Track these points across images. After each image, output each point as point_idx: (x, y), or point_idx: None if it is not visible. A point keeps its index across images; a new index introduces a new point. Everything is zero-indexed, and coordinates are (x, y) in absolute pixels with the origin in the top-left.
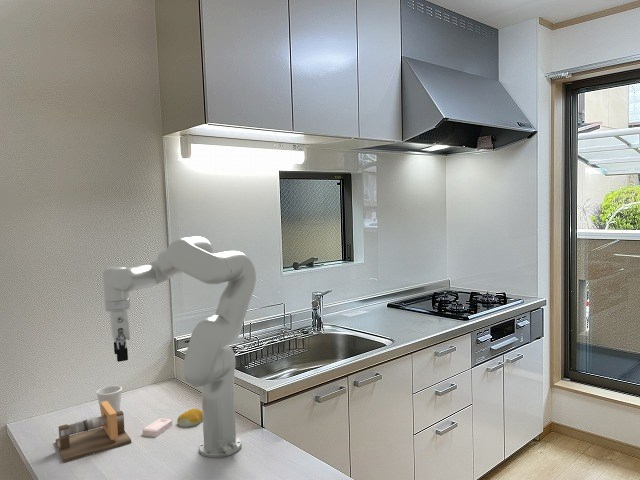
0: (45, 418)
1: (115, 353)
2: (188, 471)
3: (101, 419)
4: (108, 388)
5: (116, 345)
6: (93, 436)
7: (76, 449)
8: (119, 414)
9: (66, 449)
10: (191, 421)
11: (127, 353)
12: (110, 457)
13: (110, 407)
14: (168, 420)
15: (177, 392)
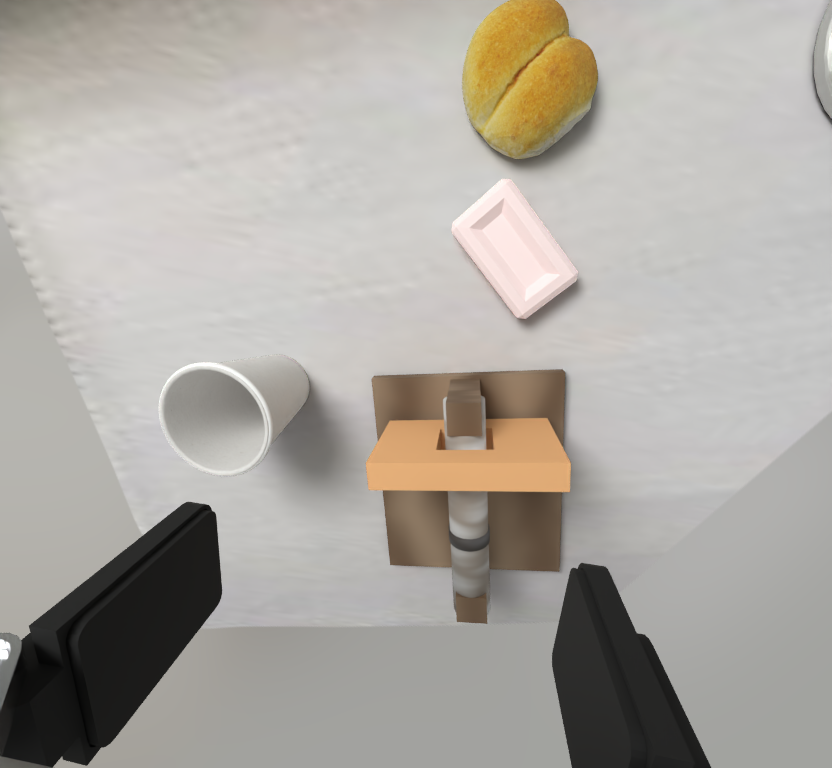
0: None
1: (216, 599)
2: None
3: None
4: (171, 413)
5: (138, 682)
6: None
7: (513, 532)
8: (481, 418)
9: (492, 554)
10: (593, 91)
11: (641, 646)
12: (627, 451)
13: (472, 469)
14: (510, 196)
15: (129, 57)
